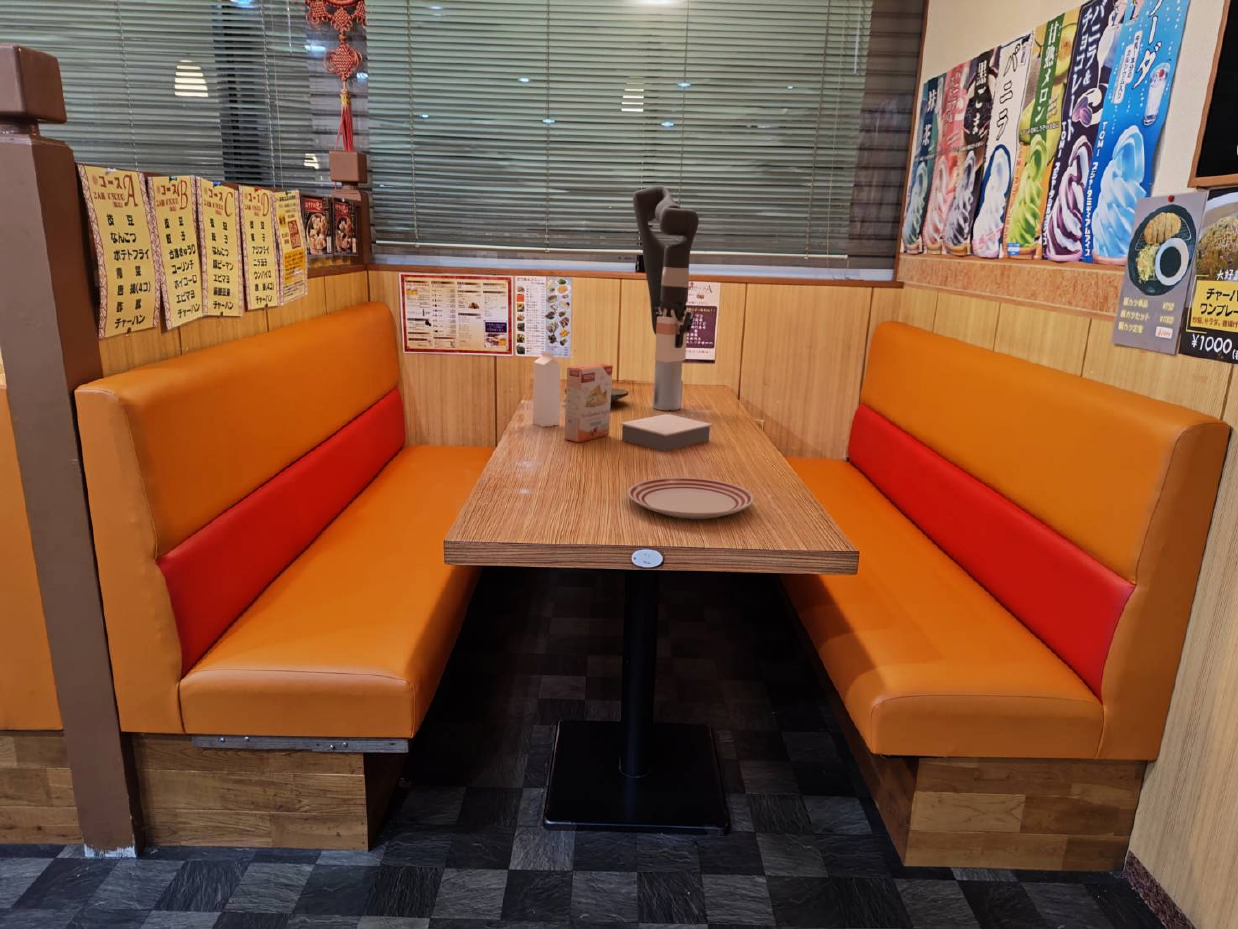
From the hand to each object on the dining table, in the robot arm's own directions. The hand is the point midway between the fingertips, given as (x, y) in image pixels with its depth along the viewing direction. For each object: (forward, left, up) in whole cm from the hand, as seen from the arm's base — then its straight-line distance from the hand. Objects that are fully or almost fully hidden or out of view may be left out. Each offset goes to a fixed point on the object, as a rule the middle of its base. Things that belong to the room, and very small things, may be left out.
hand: (671, 346), depth 230 cm
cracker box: (+16, -16, -27) cm, 36 cm away
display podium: (0, 0, -27) cm, 27 cm away
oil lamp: (-24, -52, -28) cm, 63 cm away
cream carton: (0, 0, -4) cm, 4 cm away
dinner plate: (+42, +42, -28) cm, 66 cm away
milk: (+14, -36, -27) cm, 47 cm away
